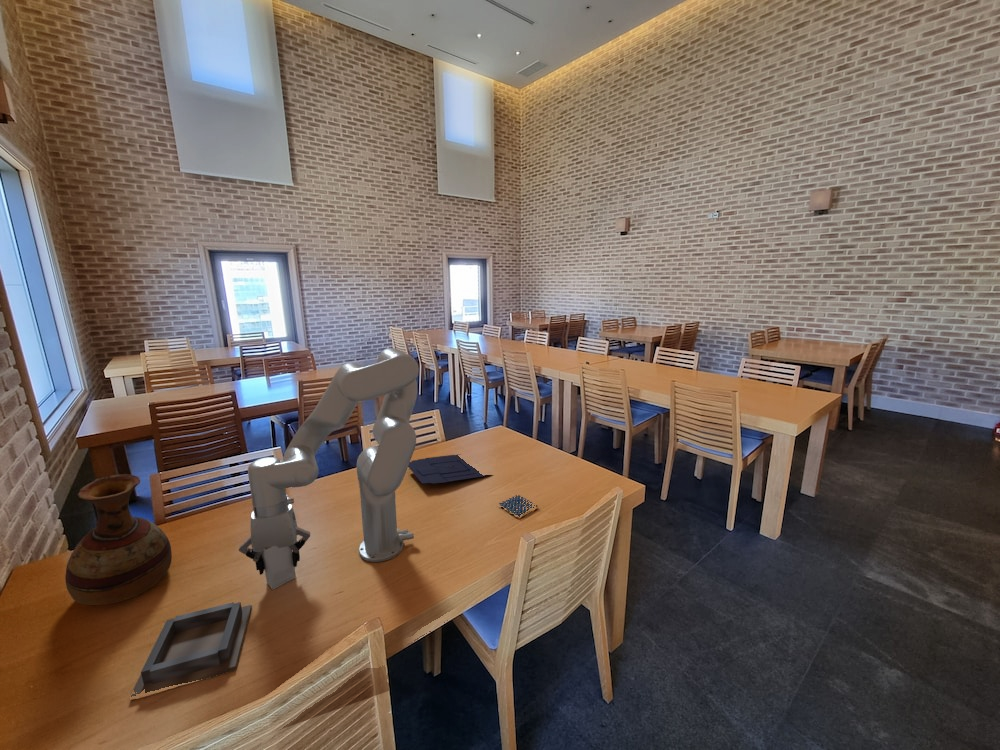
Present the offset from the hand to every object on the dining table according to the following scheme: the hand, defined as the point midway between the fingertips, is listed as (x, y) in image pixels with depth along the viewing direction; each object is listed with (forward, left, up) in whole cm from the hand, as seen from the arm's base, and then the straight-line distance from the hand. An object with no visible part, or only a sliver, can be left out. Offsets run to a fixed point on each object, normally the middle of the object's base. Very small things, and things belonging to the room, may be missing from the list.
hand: (279, 566), depth 104 cm
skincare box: (0, 0, -5) cm, 5 cm away
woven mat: (-73, -9, -5) cm, 74 cm away
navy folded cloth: (-57, -44, -5) cm, 72 cm away
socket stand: (+14, +16, -4) cm, 22 cm away
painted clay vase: (+37, -13, -5) cm, 39 cm away
